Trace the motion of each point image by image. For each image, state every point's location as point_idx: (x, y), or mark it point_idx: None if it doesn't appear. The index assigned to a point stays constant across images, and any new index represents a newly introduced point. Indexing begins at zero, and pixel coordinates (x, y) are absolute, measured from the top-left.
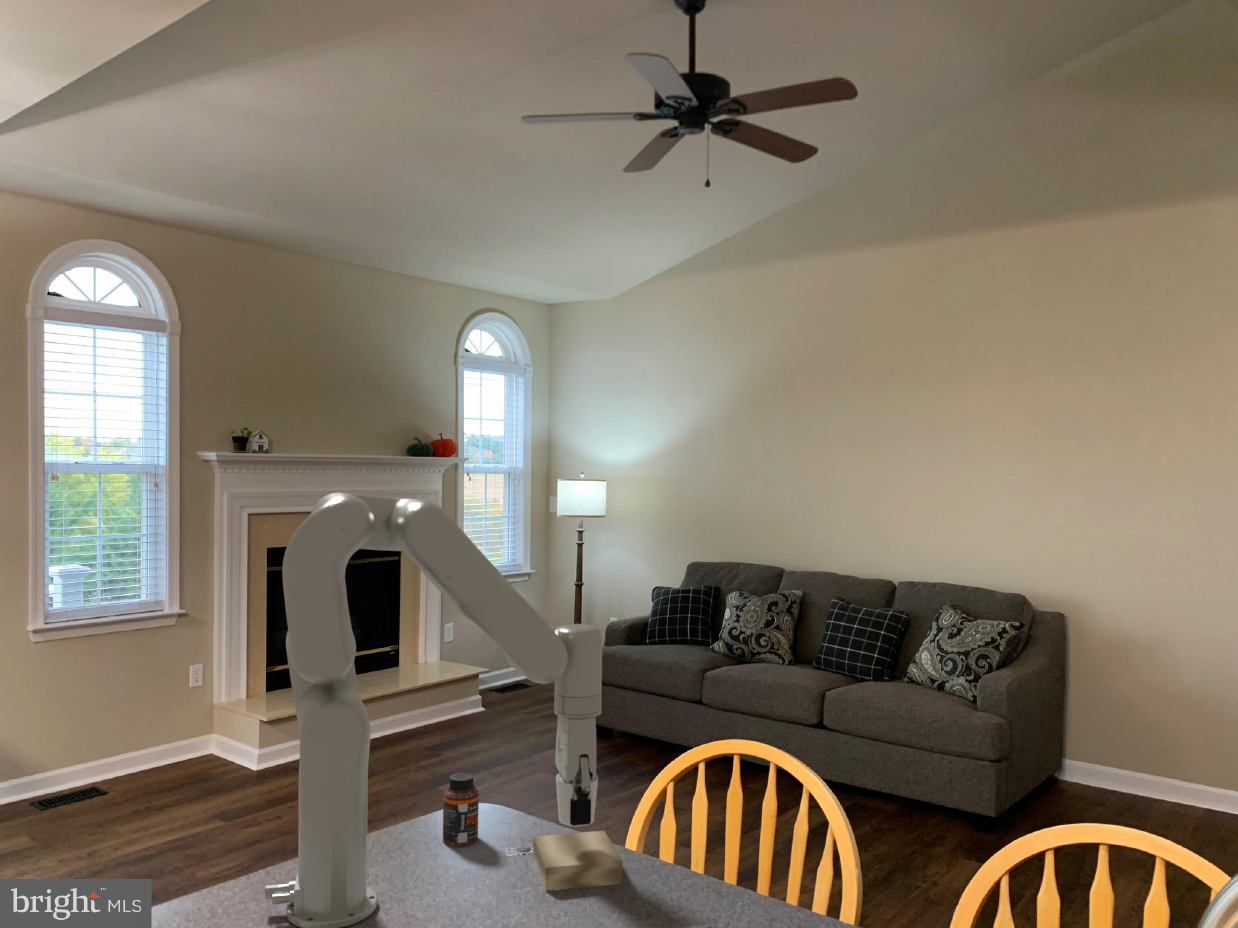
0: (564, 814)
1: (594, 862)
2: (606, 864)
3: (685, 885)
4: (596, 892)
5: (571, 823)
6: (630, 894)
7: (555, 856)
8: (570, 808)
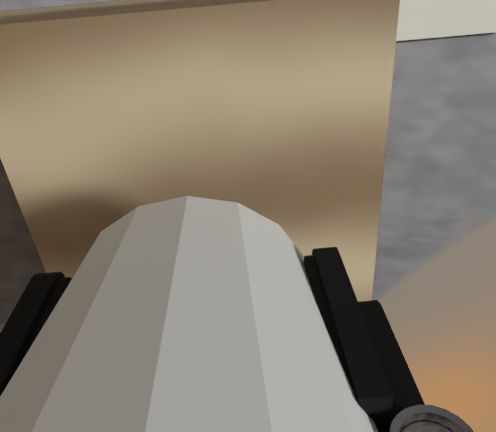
0: (84, 269)
1: (49, 258)
2: None
3: None
4: (18, 208)
5: (33, 279)
6: (16, 299)
7: (106, 97)
8: (5, 355)
